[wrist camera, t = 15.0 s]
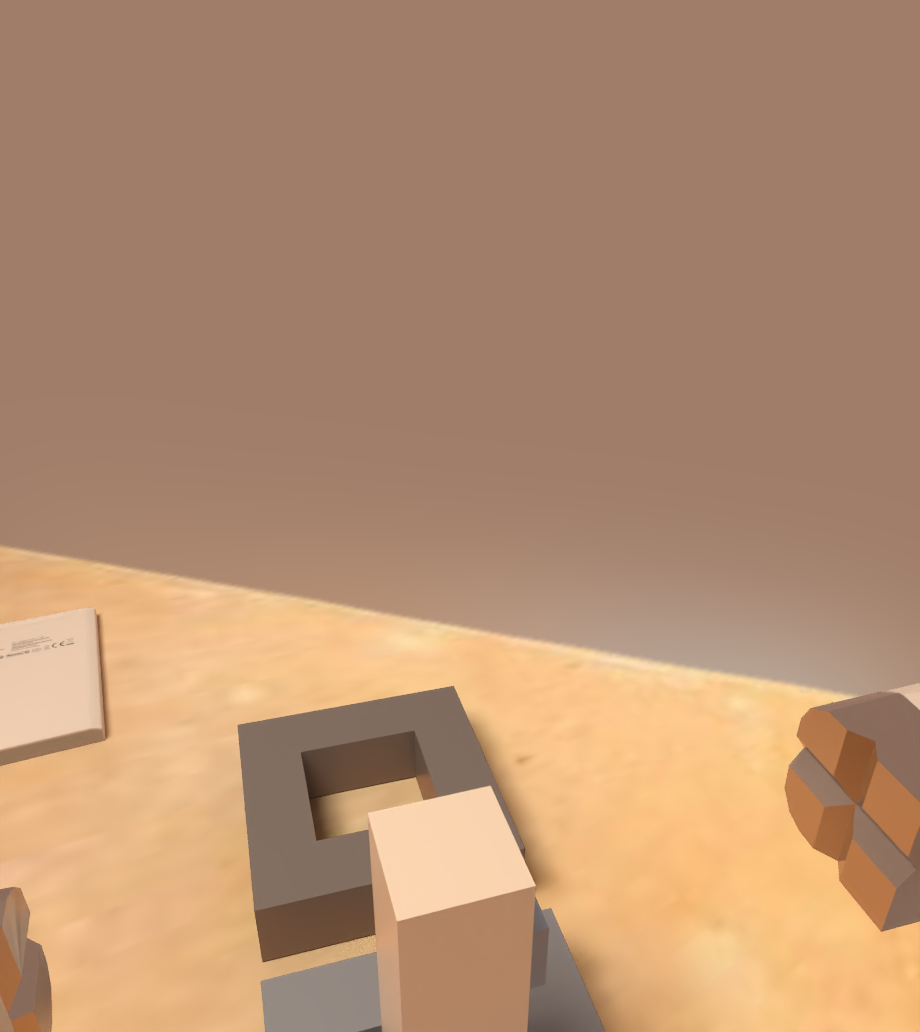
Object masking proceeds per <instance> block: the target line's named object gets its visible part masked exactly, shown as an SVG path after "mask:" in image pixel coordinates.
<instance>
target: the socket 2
mask: <svg viewBox="0 0 920 1032" xmlns="http://www.w3.org/2000/svg"><path fill="white" fill-rule="evenodd" d="M541 911H542V913H543V915H544V917H545V920H546V922H547V924H548V926H549V938H548V952H547V966H546V980H545V985H542V986H539V987H535V988H532V989H530V993H529V1010H528V1027H527V1032H605V1030H604V1027H603V1025H602V1023H601V1021H600V1018H599V1016H598V1014H597V1012H596V1009H595V1007H594V1005H593V1002H592V1000H591V998H590V996H589V993H588V991H587V989H586V986H585V984H584V982H583V980H582V977H581V975H580V973H579V971H578V968H577V966H576V964H575V961H574V959H573V957H572V955H571V952H570V950H569V948H568V945H567V943H566V941H565V939H564V936H563V934H562V932H561V929H560V927H559V925H558V923H557V920H556V918H555V916H554V914H553V911H552V909H551V908H549V909H545V910H541ZM261 990H262V1001H263V1012H264V1023H265V1032H382V1024H381V1009H380V994H379V979H378V964H377V952H374V953H370V954H366V955H363V956H359V957H355V958H351V959H347V960H343V961H339V962H335V963H331V964H327V965H323V966H319V967H315V968H311V969H307V970H303V971H299V972H295V973H291V974H287V975H283V976H279V977H275V978H271V979H267V980H263V981H261Z"/></svg>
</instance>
